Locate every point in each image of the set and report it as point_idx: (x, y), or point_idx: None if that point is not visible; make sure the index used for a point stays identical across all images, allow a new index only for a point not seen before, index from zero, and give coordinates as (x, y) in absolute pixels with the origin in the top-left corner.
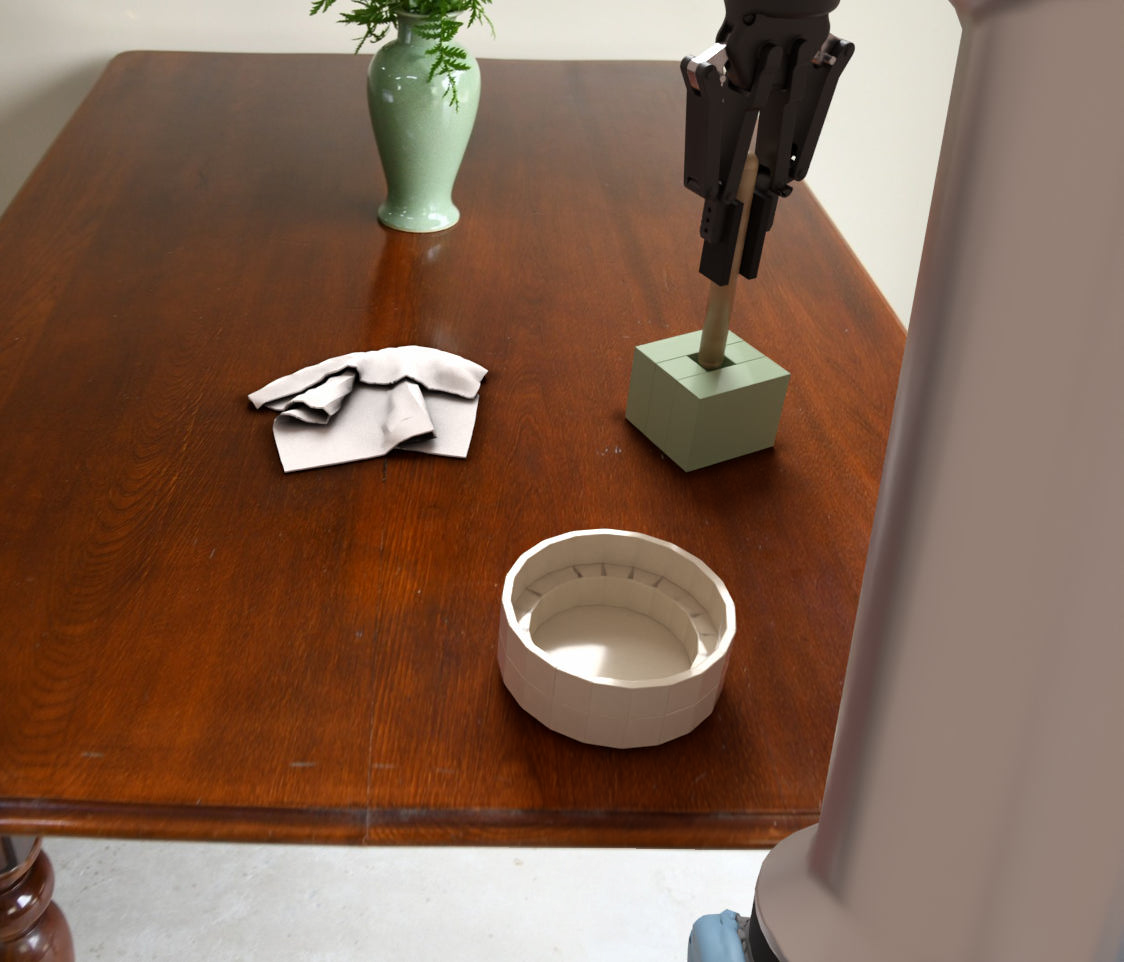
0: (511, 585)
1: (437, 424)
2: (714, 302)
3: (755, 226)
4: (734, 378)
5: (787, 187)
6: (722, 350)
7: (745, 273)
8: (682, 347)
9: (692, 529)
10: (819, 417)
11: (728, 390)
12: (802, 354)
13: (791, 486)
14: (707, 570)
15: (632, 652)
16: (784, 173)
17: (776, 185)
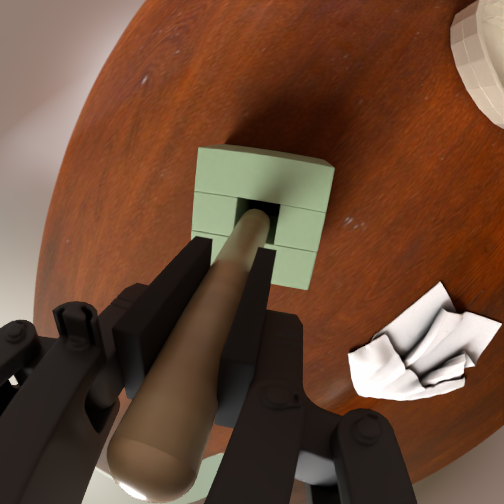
0: None
1: (423, 321)
2: None
3: (175, 299)
4: (264, 175)
5: (63, 325)
6: (250, 214)
7: (209, 252)
8: None
9: (377, 103)
10: (156, 157)
11: (291, 160)
12: (108, 235)
13: (257, 92)
14: (479, 25)
15: (490, 59)
16: (51, 365)
17: (87, 350)
